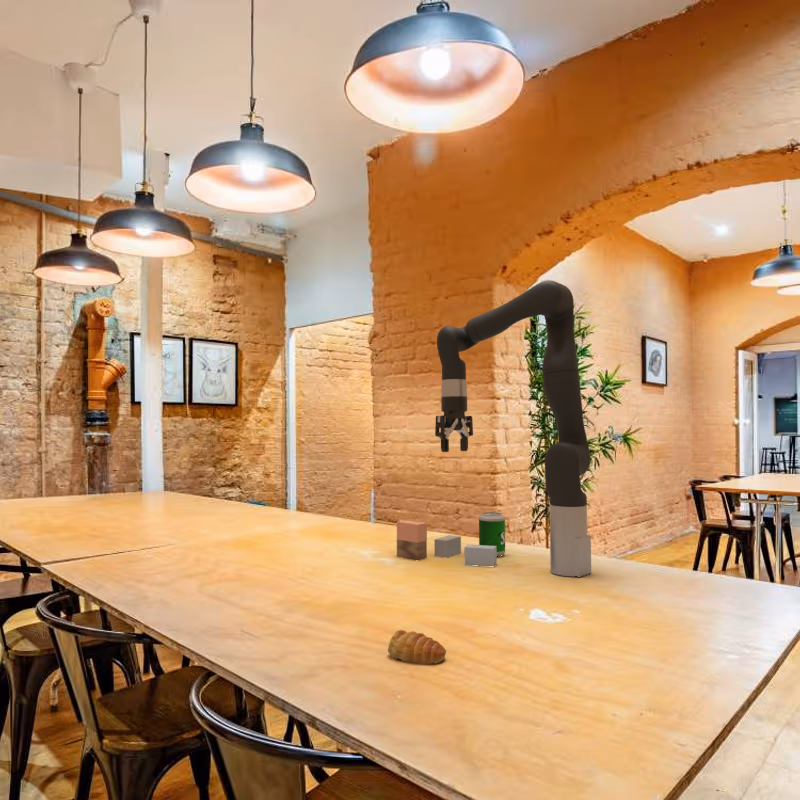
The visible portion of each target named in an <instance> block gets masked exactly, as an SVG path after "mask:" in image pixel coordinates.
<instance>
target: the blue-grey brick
mask: <svg viewBox="0 0 800 800" xmlns="http://www.w3.org/2000/svg"><path fill="white" fill-rule="evenodd" d="M497 558H498V557H497V546H486V545H479V544H466V545H465V546H464V566H465V565H478V566H477V567H480V566H495V565H496V563H497V564H498V562H497V560H498V559H497ZM496 566H497V565H496ZM496 566H495V567H496Z"/></svg>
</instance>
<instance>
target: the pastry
mask: <svg viewBox="0 0 800 800" xmlns="http://www.w3.org/2000/svg"><path fill="white" fill-rule="evenodd" d="M387 653H388V654H389V655H390V656H391V657H392V658H393V659H395V660H398V659H399V660H401V661H402V662H404V663H405V662H406V663H414V664H422V665H423V664H424V665H430V664H435V665H436V664H438V663H441V662H443V660H445V657H446V654H447V649H445V647H444V646H443V645H442V644H440V642H439V641H438V640H435V639H433V638H432V637H429V636H426V635H425V634H424V633H423V632H416V631H409V632H408V631H406V630H403V629H398V630H396V631H395V632H394V634H393V636H392V637H391V639H390V641H389V643H388V648H387Z"/></svg>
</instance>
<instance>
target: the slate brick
mask: <svg viewBox="0 0 800 800" xmlns="http://www.w3.org/2000/svg"><path fill="white" fill-rule="evenodd" d="M461 545H462V536H459V535H452V534H451V535H450V534H448V535H444V536H442V537H441V536H440V537H438V538H437V537H436V538H434V557H437V556H438V558H443V557H446V559H447V557H448V558H451V557H454V556H456V554H457V555H460V554H462V546H461ZM459 553H460V554H459ZM453 555H454V556H453ZM450 556H451V557H450Z"/></svg>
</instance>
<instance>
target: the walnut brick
mask: <svg viewBox="0 0 800 800" xmlns="http://www.w3.org/2000/svg"><path fill="white" fill-rule="evenodd" d="M427 541H428V540H427ZM427 541H424V542H419V543H416V542H410V541H404V540H398V539H397V538H396V557H397V556H398V558H401V557H403V558H402V559H406V558H407V559H408V560H411V559H412V560H413V561H416V560H418V561H421V559H422V560H426V559H425V558H427V559H428V550H427V549H428V547H427V546H428V544H427V543H428V542H427ZM407 559H406V560H407ZM412 560H411V561H412Z"/></svg>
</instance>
